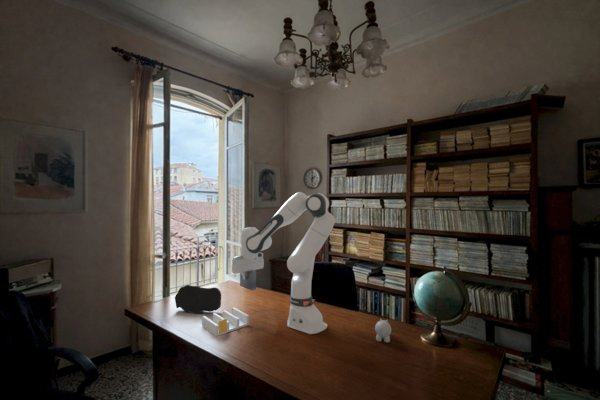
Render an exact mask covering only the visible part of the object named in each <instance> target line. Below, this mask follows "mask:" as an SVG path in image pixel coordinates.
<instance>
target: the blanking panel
mask: <svg viewBox="0 0 600 400" xmlns="http://www.w3.org/2000/svg"><path fill="white" fill-rule="evenodd" d="M245 276H247V279H245V280H244V279H243V276H242V274H241V273H239V286H240V287H243V288H245V289H247V290H249V291H255V290H257V271H256V270H255V271H253V270H251V271H247V272H245Z"/></svg>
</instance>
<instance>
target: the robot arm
mask: <svg viewBox="0 0 600 400" xmlns="http://www.w3.org/2000/svg"><path fill="white" fill-rule="evenodd" d="M330 205H331V202H330V199H329V197H328V196H327V195H325V194H323V193H321V192H318V193H317V192H316V193H315V192H314V193H311V194H310V195H307V194H306V193H304V192H302V191H297V192H296V193H294V194H293V195H292V196H290V197H289V198H288V199H287V200H286V201H284V203H283V204H282V206H281V207H279V209H278V210H277V212H276V213H275V214H274V215H272V217H271V218H270V219H269V220H268V221H267V222H266V223H265V224H264V225H263V226H262V227H261V228H260V229H259V230H258V229H257V227H255V226H251V227H250V226H249V227H243V229H242V230H241V235H240V245H241V248H240V255H239V256H234V257H233V258H232V260H231V261H232V264H231V273H233V274H240V273H241V274H242V276H243V279H244V280H245V279H247V276H245V272H247V271H251V270H253V271H256V270H262V269H264V267H265V264H264V263H265V261H264V253H262V251H264V250H267V249H270V248H271V246H272V243H273V239H272V235H273V234H274V233H275V232H277V230H279V229H280V228H283V227H285V226H288V225H291V224H292V223H294V222H295V221H296V220H298V219H299V217H300V216H302V214H303V213H304V212H305V211H308V212H309V213H310V214H311V215H312V217H314V218H313V221H312V222H311V224H310V226H309V228H308V229H307V231H306V233H305V235H304V236H303V238H302V239H301V240H300V242H299V243H298V244H297V246H296V247H295V249H294V250H293V252H292V253H291V254H290V256H289V257H288V259H287V261H286V266H287V267H286V268H287V269H288V271H290V272H291V273H292V277H291V283H290V285H291V287H290V296H289V303H290V304H289V305H290V306H289V311H288V317H287V321H286V322H287V324H286V326H287V327H288V328H291V329H294V330H296V331H300V332H302V333H306V334H308V335H313V334H319V333H321V332H323V331H325V330H326V329H327V328H328V324H327V323H326V322H324V317H323V314H322V313H321V311H320V310H319V309H318V308H317V307H316V305H315V304H314V303H315V301H316V299H315V298H314V299H313V296H312V280H313V272H314V266H315V260H316V255H317V254H318V253H319V252H320V250H321V249H322V247H323V245H324V244H325V243H326V241H327V239H328V238H329V236H330V234H331V232H332V230H333V229H334V226H335V223H336V219H335V217H334V215H333V214H331V212H329V210H328V209H330Z"/></svg>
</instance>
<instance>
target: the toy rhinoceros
mask: <svg viewBox="0 0 600 400" xmlns="http://www.w3.org/2000/svg"><path fill="white" fill-rule="evenodd" d="M374 331H375V333H376V336H375V340H376V341H377V342H382V341H384V343H387V344H388V343H390V342H391V337H390V335H391V333H392V327H391V324H389V322H388V319H386V320H385V319H382V318H380V320H379V321H377V322H376V324H375V326H374Z"/></svg>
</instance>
